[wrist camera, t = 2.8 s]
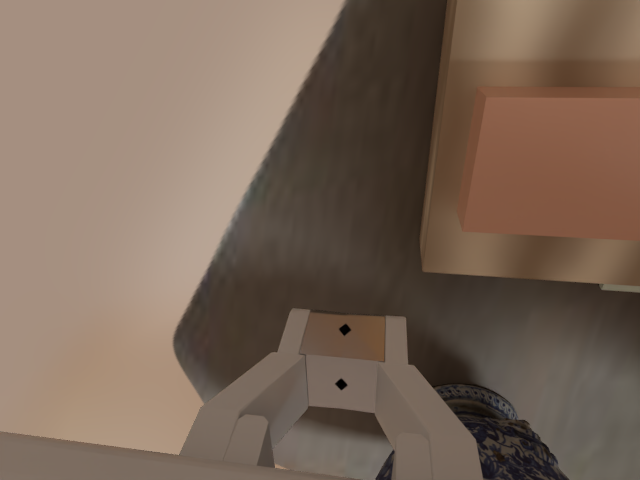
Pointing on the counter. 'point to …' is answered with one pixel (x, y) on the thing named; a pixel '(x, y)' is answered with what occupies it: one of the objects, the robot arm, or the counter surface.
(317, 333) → the robot arm
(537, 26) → the tan flat block
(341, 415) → the counter surface
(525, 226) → the tile
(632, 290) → the mat
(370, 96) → the counter surface
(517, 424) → the decorative vase
